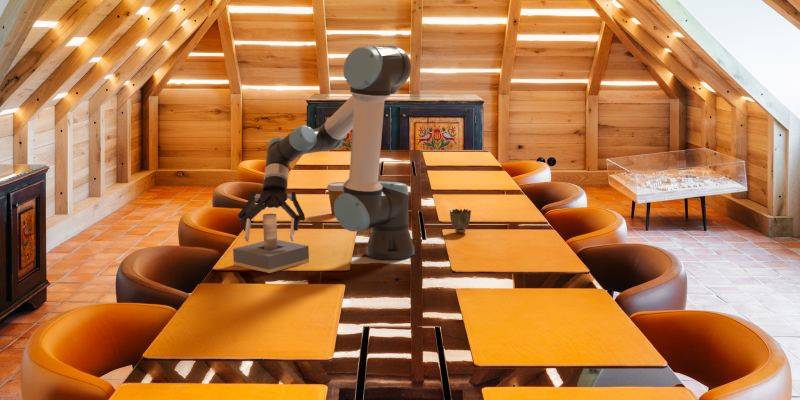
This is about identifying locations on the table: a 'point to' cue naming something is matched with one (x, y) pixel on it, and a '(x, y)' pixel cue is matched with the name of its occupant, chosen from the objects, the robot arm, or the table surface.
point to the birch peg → (270, 231)
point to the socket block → (271, 256)
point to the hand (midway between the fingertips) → (269, 239)
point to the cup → (460, 220)
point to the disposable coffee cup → (334, 193)
